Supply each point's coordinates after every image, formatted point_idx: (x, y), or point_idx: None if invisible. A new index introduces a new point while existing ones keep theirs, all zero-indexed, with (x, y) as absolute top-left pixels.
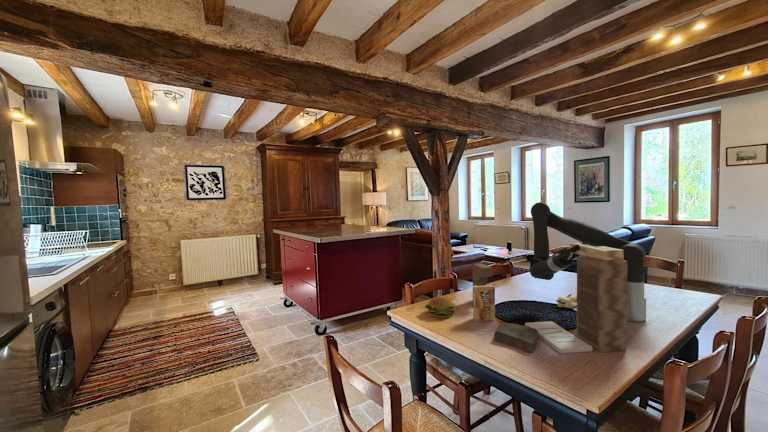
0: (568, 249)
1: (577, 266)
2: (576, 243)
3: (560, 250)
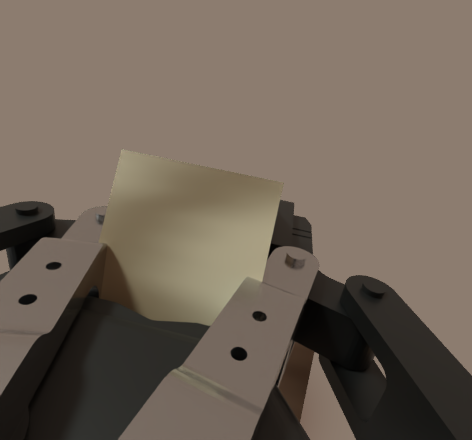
0: (334, 288)
1: (304, 391)
2: (168, 163)
3: (452, 365)
